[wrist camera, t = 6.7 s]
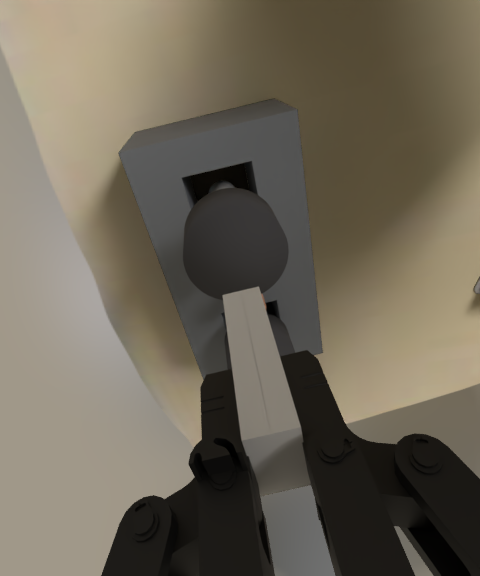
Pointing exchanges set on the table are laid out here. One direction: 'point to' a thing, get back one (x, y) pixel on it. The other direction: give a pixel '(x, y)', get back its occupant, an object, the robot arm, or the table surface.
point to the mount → (261, 180)
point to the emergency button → (477, 287)
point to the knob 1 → (233, 242)
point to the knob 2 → (280, 338)
